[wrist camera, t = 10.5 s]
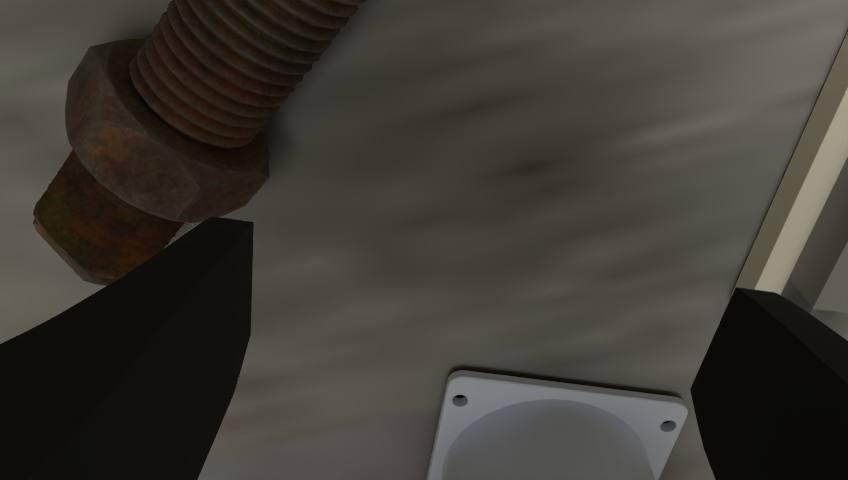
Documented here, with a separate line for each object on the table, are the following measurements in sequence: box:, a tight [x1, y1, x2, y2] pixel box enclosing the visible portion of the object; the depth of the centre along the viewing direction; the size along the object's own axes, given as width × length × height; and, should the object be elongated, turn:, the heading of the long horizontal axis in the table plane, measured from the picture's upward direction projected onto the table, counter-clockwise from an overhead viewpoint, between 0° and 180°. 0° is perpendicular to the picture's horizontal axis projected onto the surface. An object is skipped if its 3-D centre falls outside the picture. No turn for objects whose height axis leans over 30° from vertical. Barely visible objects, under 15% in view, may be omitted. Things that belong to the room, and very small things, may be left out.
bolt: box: [33, 0, 366, 286], centre depth 16 cm, size 6×5×15 cm
